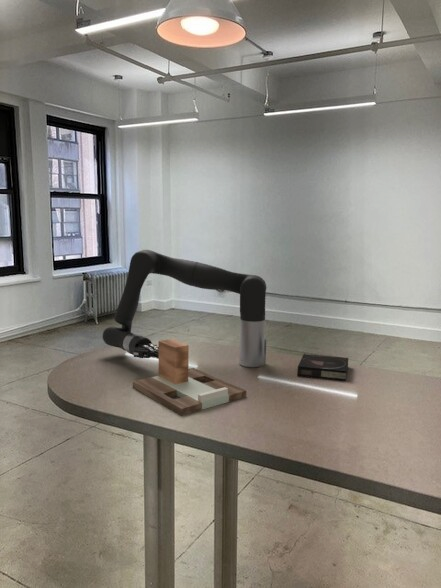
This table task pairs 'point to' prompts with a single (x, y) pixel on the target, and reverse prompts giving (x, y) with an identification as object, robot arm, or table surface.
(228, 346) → the table surface
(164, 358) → the block
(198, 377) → the lane board
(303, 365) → the portable cd player
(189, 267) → the robot arm
